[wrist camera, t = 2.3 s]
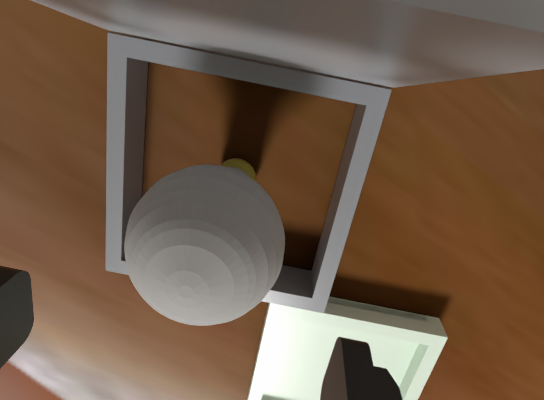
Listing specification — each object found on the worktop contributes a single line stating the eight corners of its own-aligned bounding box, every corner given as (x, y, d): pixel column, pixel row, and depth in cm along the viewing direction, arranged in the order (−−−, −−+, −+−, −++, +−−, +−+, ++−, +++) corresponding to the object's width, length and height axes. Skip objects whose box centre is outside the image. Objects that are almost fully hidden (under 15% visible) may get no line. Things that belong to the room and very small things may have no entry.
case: (125, 245, 23) (105, 270, 21) (132, 31, 18) (107, 32, 16) (321, 284, 23) (323, 313, 21) (380, 81, 18) (391, 89, 16)
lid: (-361, -153, 4) (-389, -313, 4) (106, 29, 16) (109, -9, 15) (655, 54, 4) (712, -85, 4) (392, 87, 16) (402, 50, 15)
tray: (246, 401, 27) (242, 422, 26) (272, 284, 23) (270, 302, 22) (387, 428, 27) (392, 451, 26) (438, 317, 23) (447, 337, 22)
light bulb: (292, 121, 19) (281, 209, 10) (289, 221, 21) (279, 367, 12) (181, 119, 20) (75, 202, 10) (191, 218, 22) (109, 357, 13)
